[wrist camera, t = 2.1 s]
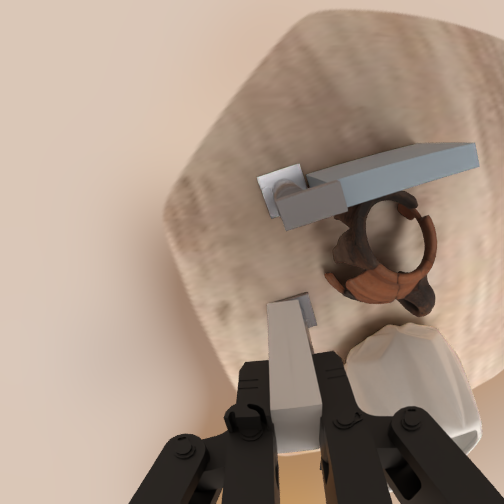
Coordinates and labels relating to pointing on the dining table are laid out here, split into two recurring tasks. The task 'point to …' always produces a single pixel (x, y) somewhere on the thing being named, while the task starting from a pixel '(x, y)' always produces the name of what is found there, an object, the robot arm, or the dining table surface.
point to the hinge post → (281, 186)
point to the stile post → (305, 314)
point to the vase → (415, 379)
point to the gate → (373, 179)
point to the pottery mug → (377, 275)
